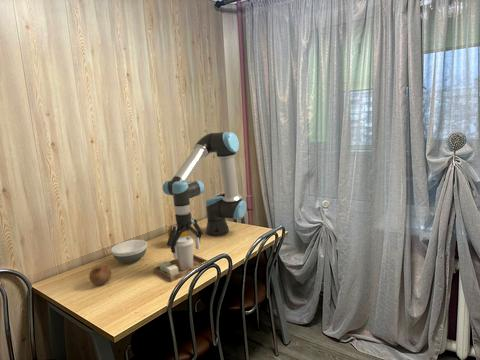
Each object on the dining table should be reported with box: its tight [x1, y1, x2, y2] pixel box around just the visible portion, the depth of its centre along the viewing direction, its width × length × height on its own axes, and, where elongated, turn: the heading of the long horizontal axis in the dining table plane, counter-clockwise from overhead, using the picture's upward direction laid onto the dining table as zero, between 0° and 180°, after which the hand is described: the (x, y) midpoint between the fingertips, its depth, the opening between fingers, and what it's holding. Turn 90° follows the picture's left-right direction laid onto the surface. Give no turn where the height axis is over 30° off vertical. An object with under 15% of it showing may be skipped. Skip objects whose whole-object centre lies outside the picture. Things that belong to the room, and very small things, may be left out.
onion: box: [88, 264, 112, 286], centre depth 145 cm, size 10×9×10 cm
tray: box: [152, 254, 209, 283], centre depth 155 cm, size 22×16×2 cm
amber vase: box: [167, 223, 188, 237], centre depth 187 cm, size 11×11×13 cm
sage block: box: [159, 261, 172, 274], centre depth 152 cm, size 4×4×4 cm
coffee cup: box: [175, 235, 195, 270], centre depth 154 cm, size 10×10×15 cm
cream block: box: [167, 265, 179, 276], centre depth 148 cm, size 4×4×4 cm
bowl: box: [110, 239, 148, 265], centre depth 169 cm, size 19×19×8 cm
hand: (187, 253), depth 156 cm, fingers open, 13 cm apart
